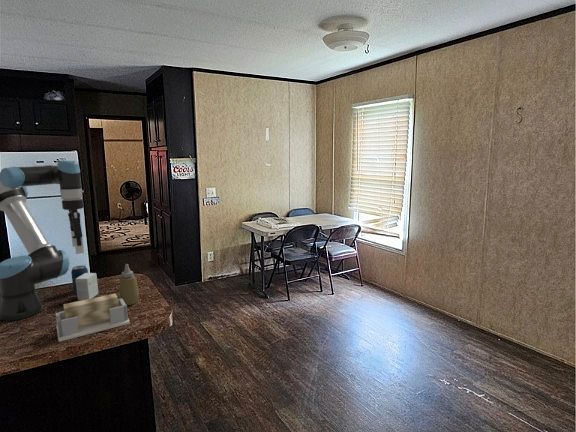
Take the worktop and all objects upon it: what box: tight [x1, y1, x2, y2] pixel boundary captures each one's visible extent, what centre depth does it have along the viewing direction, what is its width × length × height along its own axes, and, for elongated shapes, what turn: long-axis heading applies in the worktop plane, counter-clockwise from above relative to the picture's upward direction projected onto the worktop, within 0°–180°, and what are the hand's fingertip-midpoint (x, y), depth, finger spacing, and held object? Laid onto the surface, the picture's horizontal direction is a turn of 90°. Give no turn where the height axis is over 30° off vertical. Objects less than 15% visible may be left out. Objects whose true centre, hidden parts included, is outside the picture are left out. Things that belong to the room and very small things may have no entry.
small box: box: [75, 272, 99, 301], centre depth 169 cm, size 8×6×10 cm
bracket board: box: [55, 298, 131, 343], centre depth 141 cm, size 24×12×7 cm, turn 125°
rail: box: [62, 293, 119, 326], centre depth 140 cm, size 18×4×8 cm, turn 125°
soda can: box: [70, 265, 89, 294], centre depth 176 cm, size 7×7×12 cm
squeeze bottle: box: [119, 263, 140, 306], centre depth 161 cm, size 8×8×18 cm
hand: (78, 249), depth 151 cm, fingers open, 13 cm apart
